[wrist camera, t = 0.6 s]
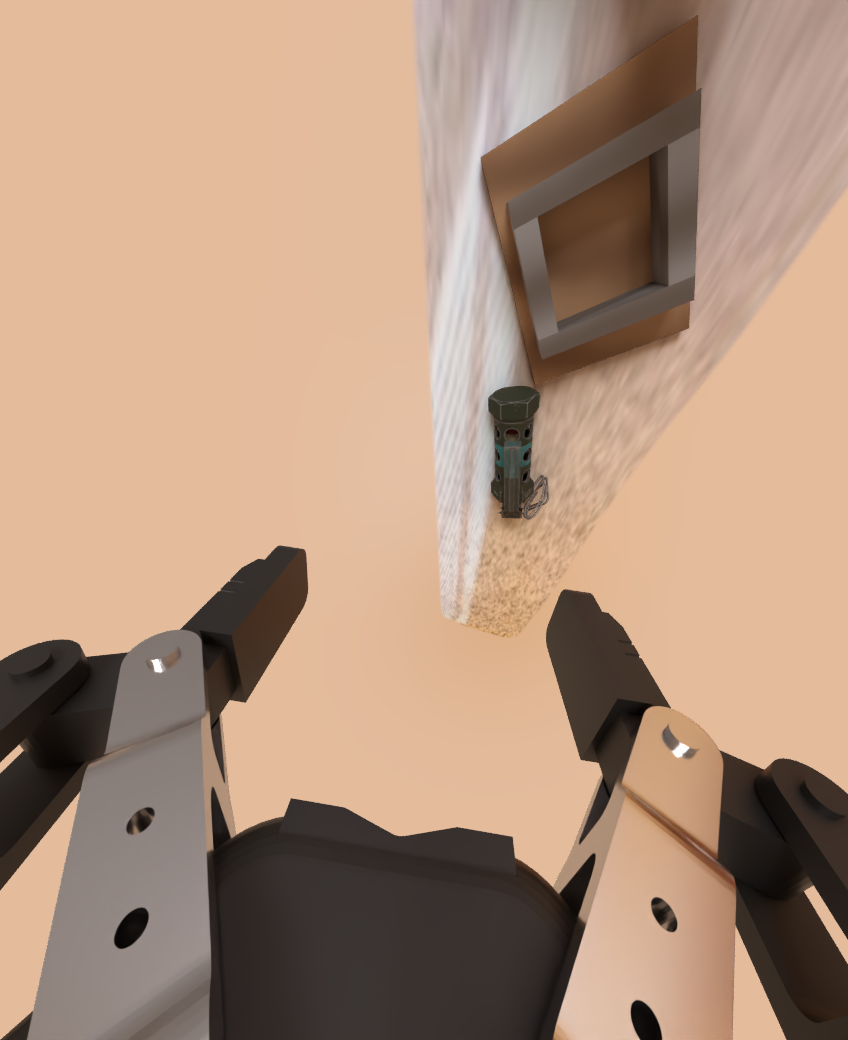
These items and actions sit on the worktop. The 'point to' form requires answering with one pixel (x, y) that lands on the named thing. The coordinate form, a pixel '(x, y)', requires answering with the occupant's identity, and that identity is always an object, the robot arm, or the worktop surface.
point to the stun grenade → (515, 450)
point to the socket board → (604, 211)
